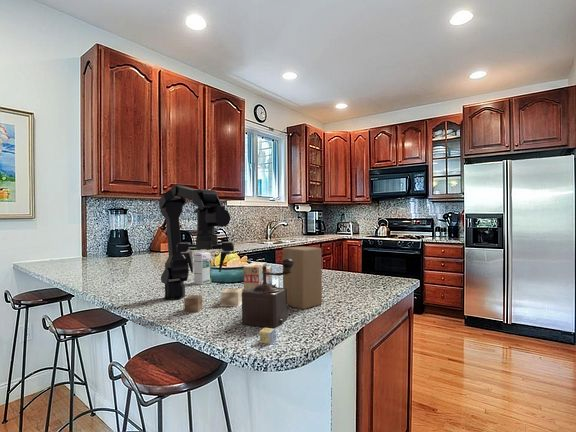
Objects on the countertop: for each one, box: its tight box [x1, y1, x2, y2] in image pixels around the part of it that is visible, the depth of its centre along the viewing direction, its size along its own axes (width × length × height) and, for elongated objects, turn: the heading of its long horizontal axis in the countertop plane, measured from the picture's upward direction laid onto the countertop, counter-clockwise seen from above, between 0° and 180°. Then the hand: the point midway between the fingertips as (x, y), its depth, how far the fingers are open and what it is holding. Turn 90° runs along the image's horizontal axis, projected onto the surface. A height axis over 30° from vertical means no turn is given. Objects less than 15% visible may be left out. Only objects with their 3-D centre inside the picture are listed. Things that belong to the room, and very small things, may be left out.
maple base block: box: [220, 288, 243, 305], centre depth 120 cm, size 6×6×4 cm
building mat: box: [219, 302, 242, 307], centre depth 119 cm, size 13×15×1 cm
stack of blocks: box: [243, 261, 273, 292], centre depth 140 cm, size 21×6×12 cm, turn 169°
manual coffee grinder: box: [241, 258, 293, 329], centre depth 102 cm, size 16×11×18 cm
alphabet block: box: [259, 328, 277, 345], centre depth 84 cm, size 3×3×3 cm
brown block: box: [183, 294, 203, 313], centre depth 111 cm, size 4×4×5 cm
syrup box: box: [193, 251, 212, 286], centre depth 159 cm, size 6×6×14 cm
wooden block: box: [282, 245, 323, 310], centre depth 119 cm, size 10×10×20 cm
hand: (206, 272), depth 114 cm, fingers open, 9 cm apart
